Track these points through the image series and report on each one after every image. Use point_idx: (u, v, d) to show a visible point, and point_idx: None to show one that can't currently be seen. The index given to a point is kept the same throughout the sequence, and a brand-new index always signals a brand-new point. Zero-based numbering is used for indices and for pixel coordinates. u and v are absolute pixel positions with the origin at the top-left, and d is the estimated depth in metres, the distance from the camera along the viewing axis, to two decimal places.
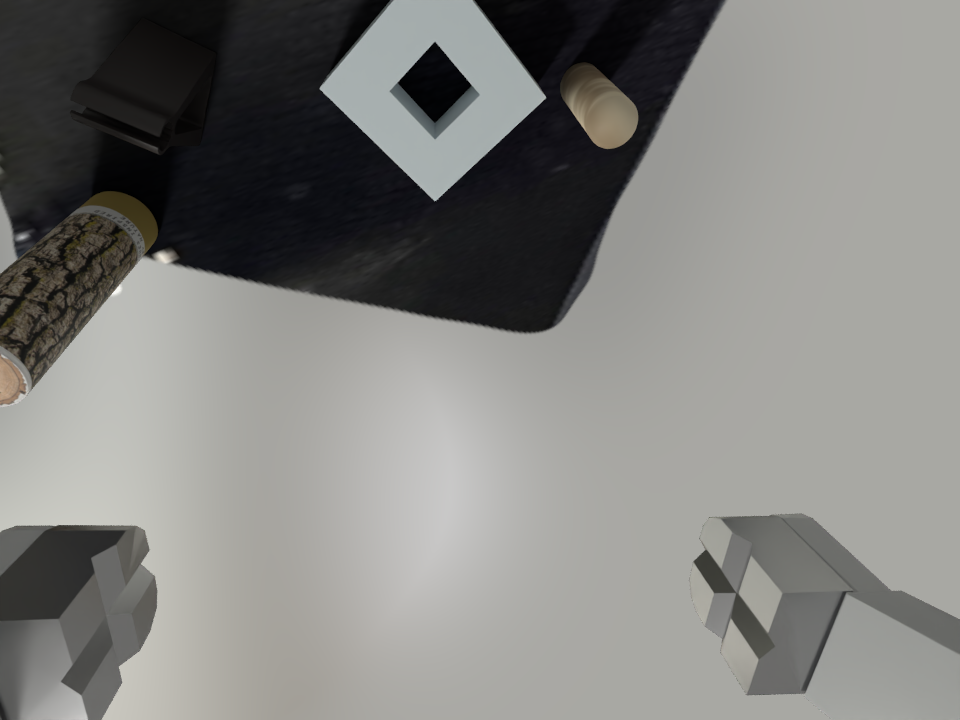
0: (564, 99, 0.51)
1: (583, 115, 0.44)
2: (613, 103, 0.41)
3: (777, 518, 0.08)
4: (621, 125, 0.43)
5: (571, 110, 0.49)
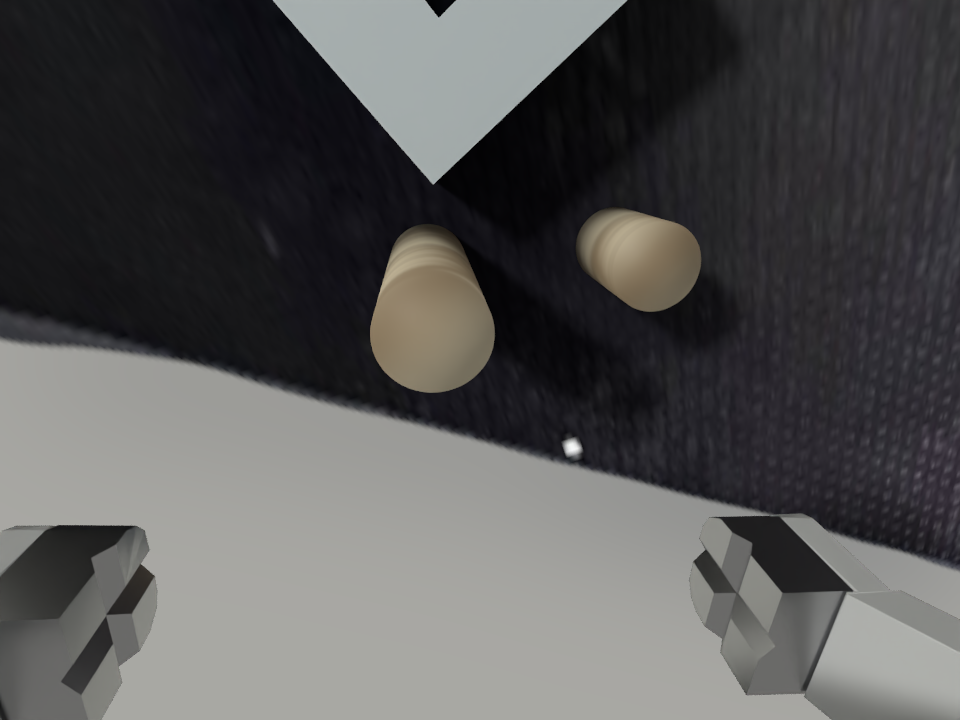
0: (411, 232, 0.26)
1: (433, 263, 0.18)
2: (478, 329, 0.17)
3: (777, 518, 0.08)
4: (428, 356, 0.17)
5: (405, 244, 0.23)
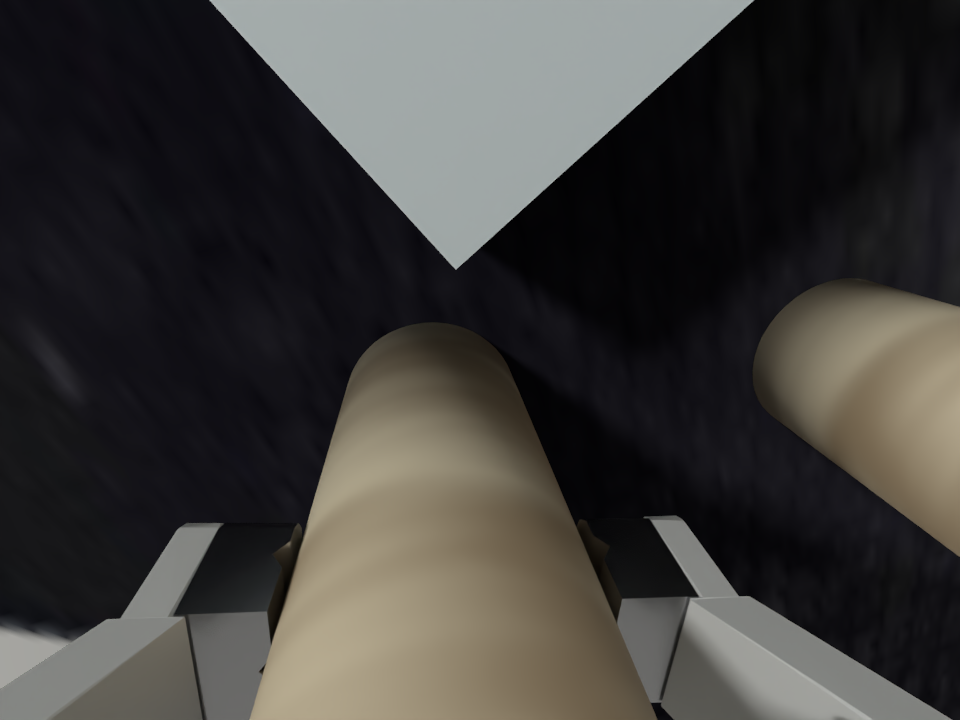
0: (390, 356, 0.10)
1: None
2: None
3: (646, 520, 0.08)
4: None
5: (367, 435, 0.08)
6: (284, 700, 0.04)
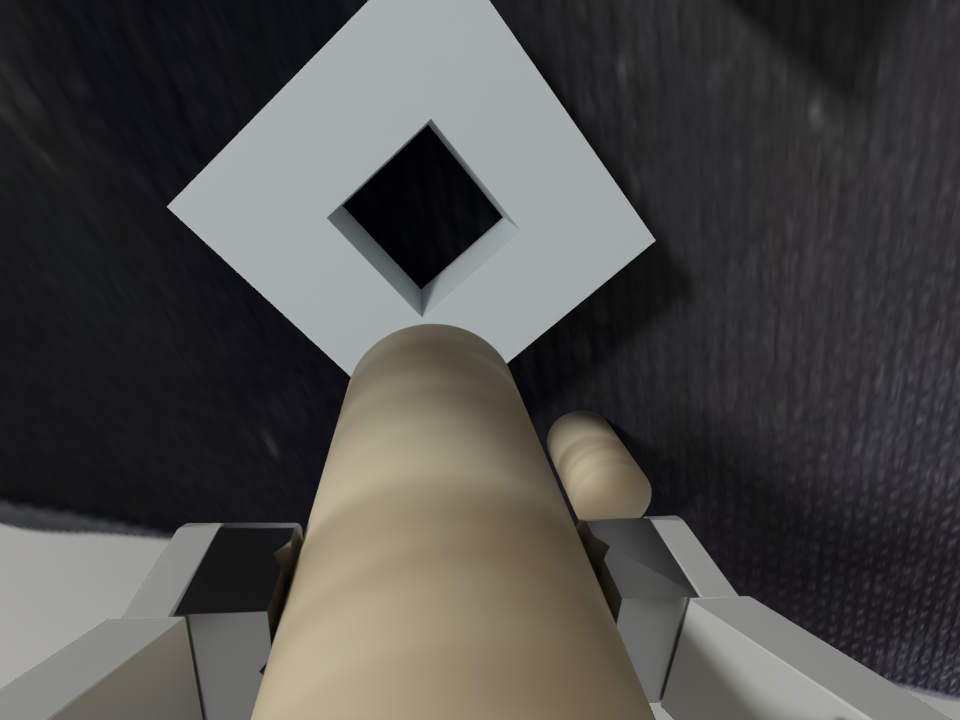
0: (390, 357, 0.10)
1: None
2: None
3: (646, 520, 0.08)
4: None
5: (367, 437, 0.08)
6: (284, 702, 0.04)
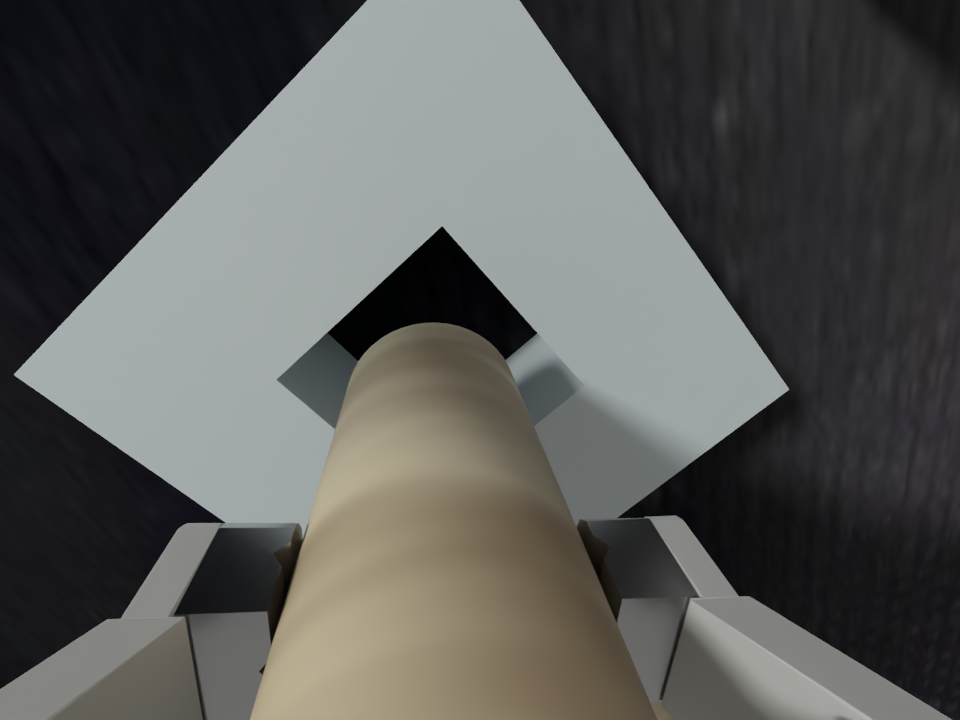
0: (390, 356, 0.10)
1: None
2: None
3: (646, 521, 0.08)
4: None
5: (367, 435, 0.08)
6: (284, 700, 0.04)
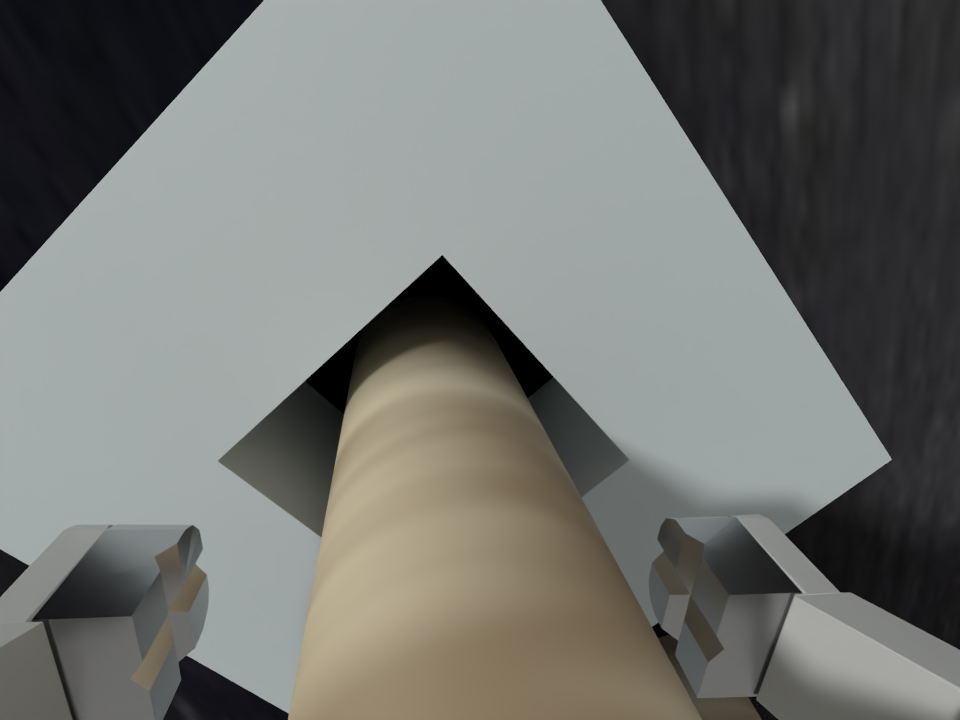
0: (395, 320, 0.13)
1: (503, 579, 0.05)
2: None
3: (733, 519, 0.08)
4: None
5: (385, 372, 0.10)
6: (352, 513, 0.06)
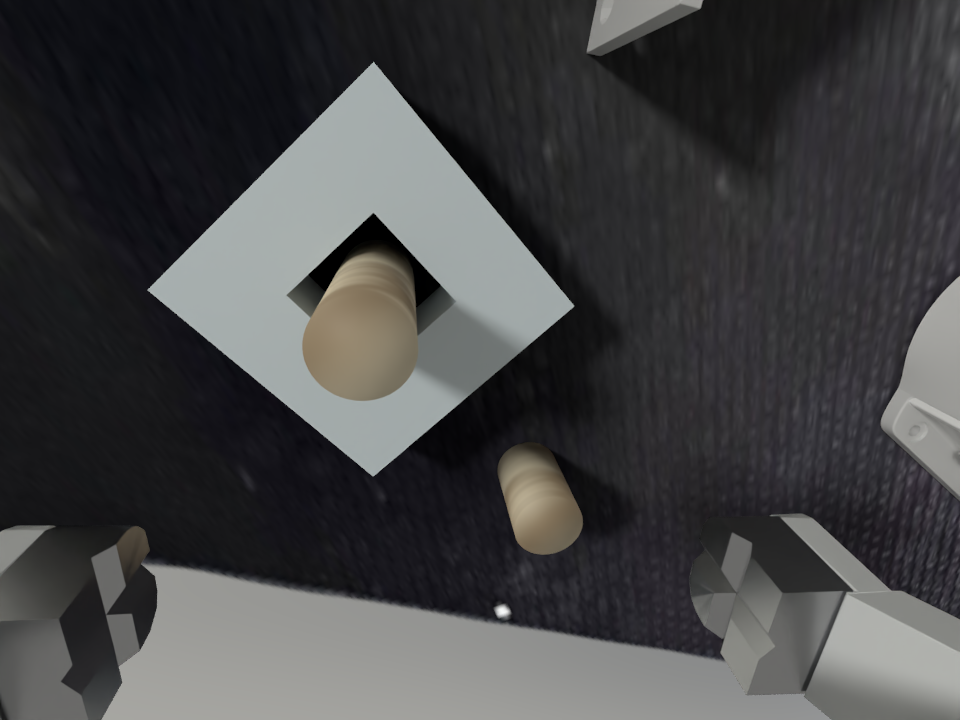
0: (358, 247, 0.28)
1: (364, 281, 0.20)
2: (403, 343, 0.19)
3: (777, 518, 0.08)
4: (357, 368, 0.19)
5: (349, 260, 0.25)
6: (331, 285, 0.21)
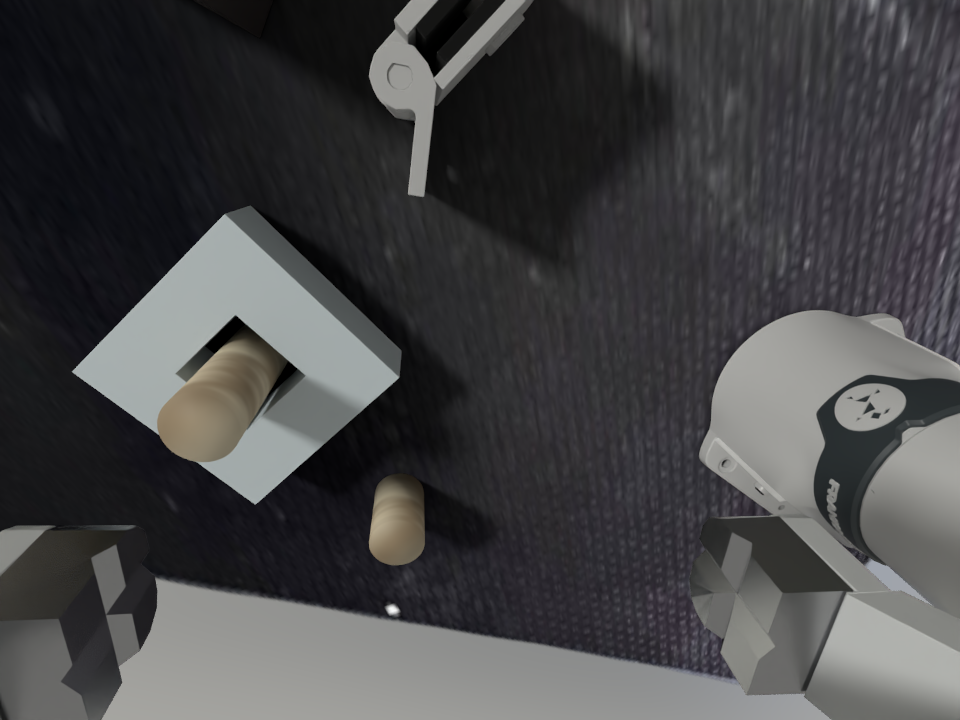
0: (240, 330, 0.36)
1: (207, 378, 0.28)
2: (228, 424, 0.27)
3: (777, 517, 0.08)
4: (198, 440, 0.27)
5: (222, 347, 0.33)
6: None
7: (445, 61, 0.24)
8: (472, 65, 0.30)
